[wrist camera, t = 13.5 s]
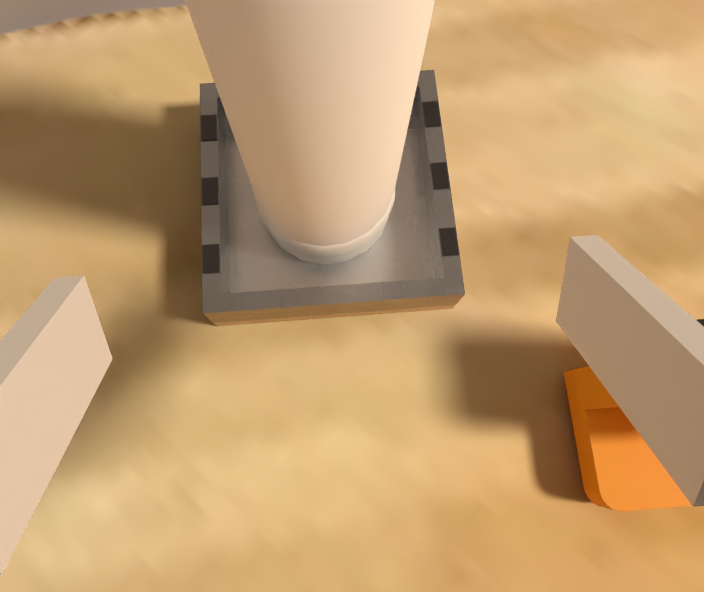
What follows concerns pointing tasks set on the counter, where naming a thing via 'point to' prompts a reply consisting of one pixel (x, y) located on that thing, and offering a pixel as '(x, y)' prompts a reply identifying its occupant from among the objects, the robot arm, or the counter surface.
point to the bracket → (615, 451)
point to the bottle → (317, 110)
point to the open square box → (336, 278)
